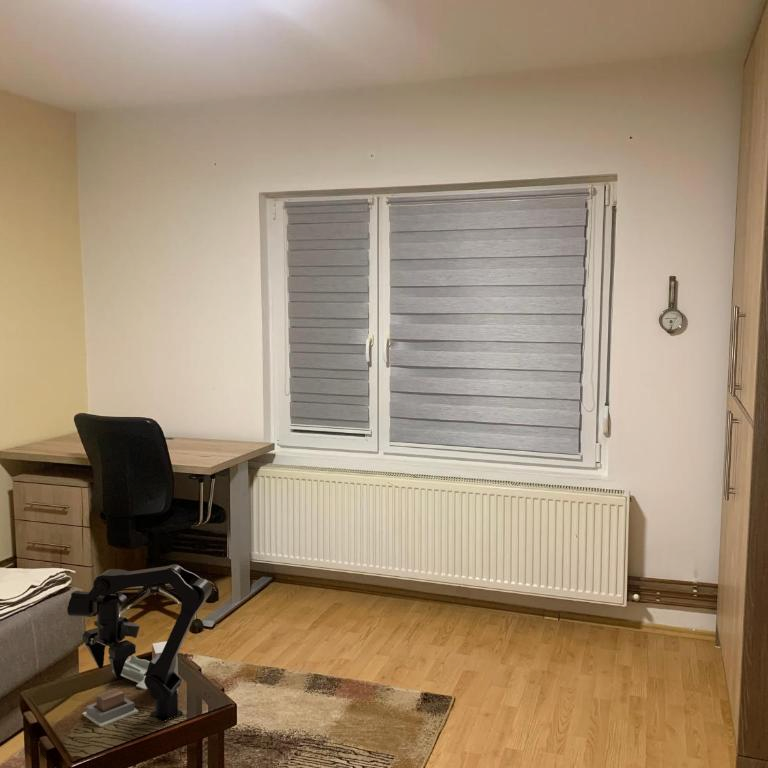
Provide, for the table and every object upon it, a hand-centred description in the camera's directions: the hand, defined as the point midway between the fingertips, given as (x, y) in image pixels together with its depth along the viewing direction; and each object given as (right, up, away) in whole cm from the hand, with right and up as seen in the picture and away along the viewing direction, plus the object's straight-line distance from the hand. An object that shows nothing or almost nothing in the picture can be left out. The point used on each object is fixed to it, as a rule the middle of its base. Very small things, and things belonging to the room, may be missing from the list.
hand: (109, 672), depth 214 cm
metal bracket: (+1, -10, +23) cm, 25 cm away
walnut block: (0, -11, 0) cm, 11 cm away
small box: (+11, -11, +14) cm, 21 cm away
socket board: (0, -11, 0) cm, 11 cm away
